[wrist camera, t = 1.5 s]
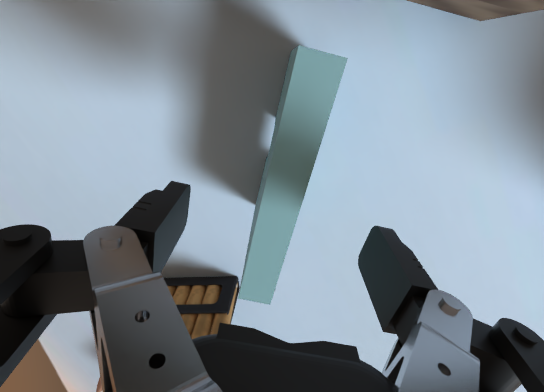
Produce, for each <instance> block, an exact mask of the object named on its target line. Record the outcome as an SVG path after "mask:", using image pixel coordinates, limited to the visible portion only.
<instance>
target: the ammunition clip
mask: <svg viewBox="0 0 544 392" xmlns="http://www.w3.org/2000/svg"><path fill="white" fill-rule="evenodd" d="M164 280H165V282H166V284H167V287H168V289H169V291H170V293H171V295H172V297H173V300H174V302H175V304H176V306H177V308H178V311H179V313H180V315H181V317H182V319H183V321H184V324H185V326H186V328H187V330H188V332H189V335H190V337H191V339H194V338H197V337H200V336H205V335H210V334H217V333H218V328H219V324H220V323H225V324H231V320H232V316H233V313H234V309H235V305H236V301H237V297H238V293H239V289H240V288H239V281H238V277H236V276H226V277H184V278H164ZM211 328H212V329H211ZM101 391H102V384H101V377H100V378H99V381H98V385H97V390H96V392H101Z"/></svg>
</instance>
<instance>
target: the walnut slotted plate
mask: <svg viewBox="0 0 544 392" xmlns="http://www.w3.org/2000/svg"><path fill="white" fill-rule="evenodd" d="M407 1H411V2H414V3H418V4H422V5H425V6H429V7H432V8H436V9H440V10H443V11H447V12H450V13H454V14H457V15H461V16H465V17H468V18H472V19H475V20H479V21H484V20H489V19H495V18H500V17H505V16H511V15H516V14H521V13H527V12H532V11H537V10H543V9H544V0H407Z"/></svg>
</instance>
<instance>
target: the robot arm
mask: <svg viewBox="0 0 544 392" xmlns="http://www.w3.org/2000/svg"><path fill="white" fill-rule="evenodd" d="M189 198H190V185H188V184H184V183H179V182H174V181H171V182H170V183H169V184H168V185H167V186H166V188H165V189H164V190H163V191H160V190H153V191H151V192H149V193H146V194H145V195H144V196H143V197H142V198H141V199H140V200H139V201H138V202H137V203H136V204H135V205H134V206H133V208H131V209H130V210H129V211H128V212H127V213H126V214H125V215H124V216H123V217H122V218H121V219H120V220H119V221H118V222H117V223H116V224H115V225H114V226H106V227H101V228H98V229H95V230H93V231H92V232H90V233H89V234H87V235H86V236H85V238H84V240H61V241H52V239H51V233H50V231H49V230H48V229H46V228H45V227H42V226H38V225H16V226H11V227H7V228H4V229H1V230H0V387H1V386H2V384H3V383H4V382H5V380H6V379H7V378H8V377H9V375H10V374H11V373H12V371H13V370H14V369H15V368H16V366H17V365H18V364H19V362H20V361H21V360H22V359H23V357H24V356H25V354H26V353H27V352H28V351H29V349H30V348H31V347H32V346H33V344H34V343H35V342H36V340H37V339H38V338H39V337H40V335H41V334H42V333H43V331H44V330H45V329H46V328H47V326H48V325H49V324H50V322H51V321H52V320H53V319H54V317H55V316H56V315H57V314H60V313H71V312H81V311H89V312H90V317H91V323H92V329H93V334H94V340H95V345H96V351H97V356H98V362H99V369H100V377H101V384H102V391H103V392H514V391H515V390H516V389H517V388H518V387H519V386H520V385H521V384H522V385H523V386H524V388H525V389H526V390H527V392H544V341H543V339H542V338H540V337H539V336H538V335H537V334H536V333H535V332H533V331H532V330H531V329H529V328H528V327H526V326H525V325H523V324H521V323H519V322H517V321H514V320H512V319H508V318H501V319H500V320H499V321H498V322H497V323H496V324H495V325H494V326H493V327H492V326H489V325H487V324H485V323H482V322H480V321H478V320H475V319H473V316H472V314H471V312H470V310H469V309H468V308H467V307H466V306H465V305H464V304H463V303H462V302H461V301H460V300H459V299H457V298H456V297H454V296H453V295H451V294H449V293H447V292H444V291H441V290H438V288H437V287H436V286H435V284H434V283H433V281H432V280H431V278H430V277H429V275H428V274H427V272H426V271H425V269H423V266H422V265H421V264H420V262H419V261H418V259H417V258H416V256H415V255H414V253H413V252H412V251H411V250H410V249H409V248H408V247H407V246H406V245H405V244H403V243H402V242H401V240H400V239H399V237H398V236H397V234H396V233H395V231H394V230H393V229H389V228H384V227H380V226H374V227H373V228H372V229H371V231H370V233H369V235H368V237H367V239H366V241H365V243H364V246H363V248H362V250H361V252H360V254H359V259H358V266H359V269H360V272H361V274H362V277H363V280H364V282H365V285H366V288H367V290H368V293H369V296H370V298H371V301H372V304H373V306H374V309H375V311H376V314H377V317H378V319H379V322H380V325H381V327H382V330H383V332H387V333H392V334H397V336H398V339H397V340H396V342H395V343H394V345H393V347H392V350H391V352H390V354H389V357H388V359H387V361H386V364H385V366H384V368H383V371H382V373H381V372H379V371H378V370H377V369H375V368H374V367H372V366H371V365H369V364H367V363H365V362H363V361H361V360H360V359H359V355H358V352H357V348H356V347H355V346H349V345H344V344H338V343H332V342H327V341H317V342H305V343H287V342H285V341H282V340H280V339H277V338H275V337H273V336H270V335H268V334H266V333H263V332H261V331H259V330H256V329H254V328H248V327H242V326H237V325H231V324H225V323H220V324H219V328H218V333H217V334H210V335H205V336H200V337H197V338H194V339H191V337H190V335H189V332H188V330H187V328H186V326H185V324H184V321H183V319H182V317H181V315H180V313H179V311H178V308H177V306H176V304H175V302H174V300H173V297H172V295H171V293H170V291H169V289H168V287H167V284H166V282H165V280H164V278H163V276H162V274H161V271H162V269H163V267H164V266H165V264H166V262H167V260H168V258H169V257H170V255H171V253H172V251H173V249H174V247H175V246H176V244H177V242H178V240H179V238H180V236H181V235H182V233H183V231H184V228H185V226H186V222H187V216H188V207H189Z"/></svg>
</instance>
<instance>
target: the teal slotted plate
mask: <svg viewBox="0 0 544 392" xmlns="http://www.w3.org/2000/svg"><path fill="white" fill-rule="evenodd" d="M347 59H348V58H345V57H341V56H338V55H334V54H330V53H326V52H322V51H318V50H315V49H311V48H307V47H303V46H297V47H296V48H295V49H294V50H292V51H291V54H290V58H289V62H288V67H287V71H286V75H285V80H284V84H283V88H282V93H281V97H280V101H279V106H278V110H277V114H276V119H275V127H274V133H273V137H272V141H271V146H270V150H269V154H268V157H267V158H266V162H265V166H264V171H263V175H262V180H261V184H260V188H259V193H258V197H257V201H256V206H255V211H254V216H253V222H252V227H251V232H250V238H249V243H248V249H247V254H246V259H245V265H244V270H243V275H242V281H241V286H240V292H239V297H238V299H244V300H249V301H254V302H259V303H264V304H269V305H270V303H271V300H272V297H273V294H274V290H275V287H276V284H277V281H278V278H279V274H280V271H281V268H282V265H283V262H284V259H285V255H286V252H287V249H288V246H289V243H290V240H291V236H292V233H293V230H294V227H295V224H296V220H297V217H298V214H299V211H300V208H301V205H302V201H303V198H304V195H305V192H306V189H307V186H308V182H309V179H310V176H311V173H312V170H313V167H314V163H315V160H316V157H317V154H318V151H319V147H320V144H321V141H322V138H323V135H324V132H325V128H326V125H327V122H328V119H329V116H330V113H331V109H332V106H333V103H334V100H335V97H336V93H337V90H338V87H339V84H340V81H341V78H342V74H343V71H344V68H345V65H346V62H347Z"/></svg>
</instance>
